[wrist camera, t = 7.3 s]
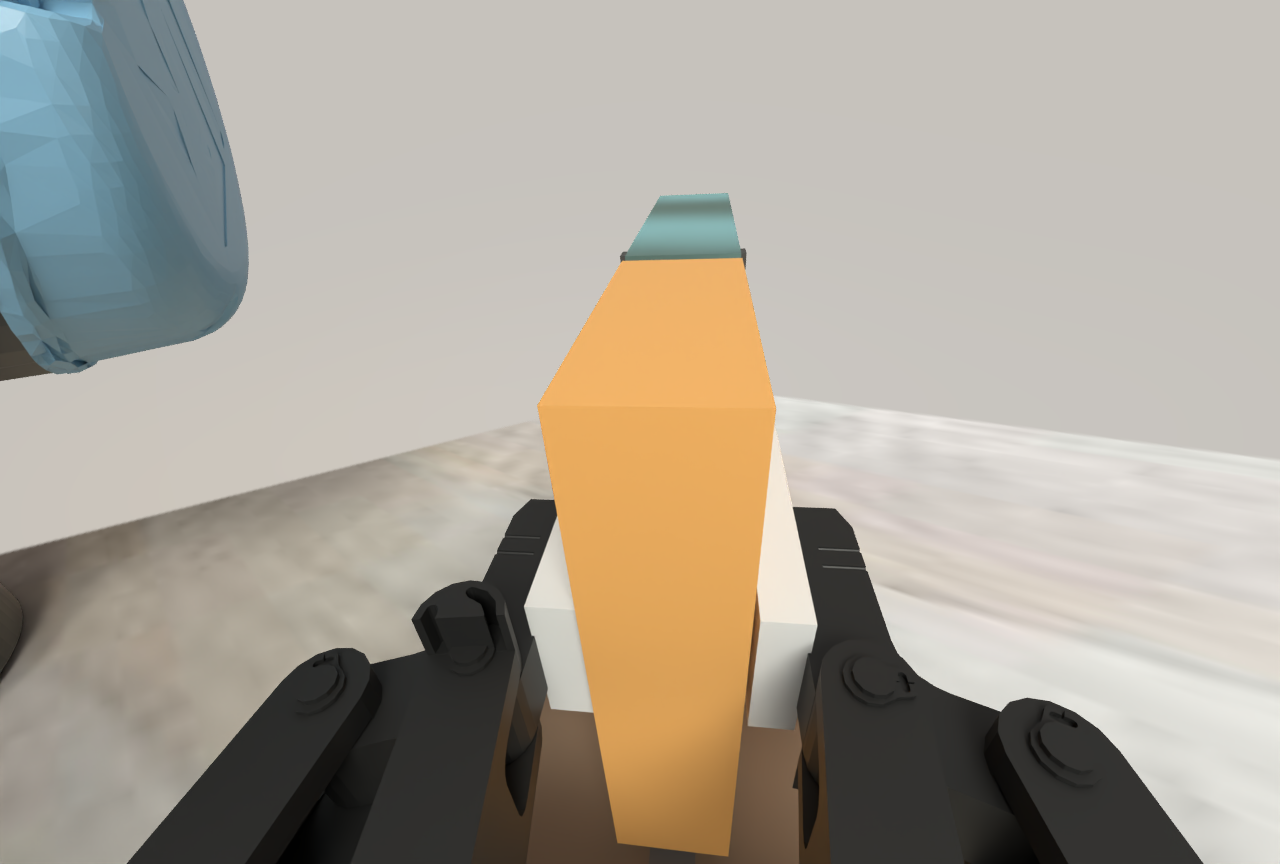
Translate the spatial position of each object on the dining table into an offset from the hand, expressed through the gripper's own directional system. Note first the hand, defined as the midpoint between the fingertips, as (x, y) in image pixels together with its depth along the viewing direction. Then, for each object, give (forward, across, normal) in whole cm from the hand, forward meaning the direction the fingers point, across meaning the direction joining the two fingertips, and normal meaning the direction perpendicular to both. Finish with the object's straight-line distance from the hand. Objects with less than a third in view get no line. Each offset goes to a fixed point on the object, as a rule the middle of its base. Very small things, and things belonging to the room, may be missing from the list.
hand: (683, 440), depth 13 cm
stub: (-4, 0, -6) cm, 7 cm away
